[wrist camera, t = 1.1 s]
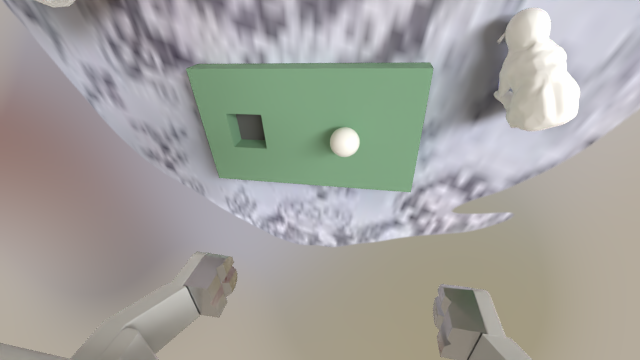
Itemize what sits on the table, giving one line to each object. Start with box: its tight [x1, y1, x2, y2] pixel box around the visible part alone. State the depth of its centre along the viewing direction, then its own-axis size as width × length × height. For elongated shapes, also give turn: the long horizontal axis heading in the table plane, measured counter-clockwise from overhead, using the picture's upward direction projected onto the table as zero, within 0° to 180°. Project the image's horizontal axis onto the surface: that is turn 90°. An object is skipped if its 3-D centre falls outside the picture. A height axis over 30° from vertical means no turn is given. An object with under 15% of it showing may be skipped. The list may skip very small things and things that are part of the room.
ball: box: [330, 127, 360, 157], centre depth 37 cm, size 4×4×4 cm
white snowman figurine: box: [494, 8, 580, 131], centre depth 29 cm, size 6×8×12 cm
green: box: [186, 63, 433, 192], centre depth 40 cm, size 18×32×3 cm, turn 92°
